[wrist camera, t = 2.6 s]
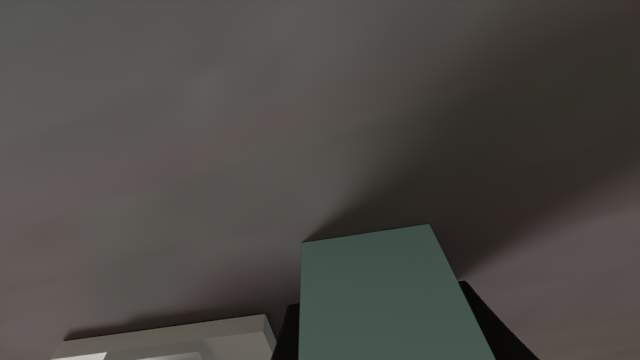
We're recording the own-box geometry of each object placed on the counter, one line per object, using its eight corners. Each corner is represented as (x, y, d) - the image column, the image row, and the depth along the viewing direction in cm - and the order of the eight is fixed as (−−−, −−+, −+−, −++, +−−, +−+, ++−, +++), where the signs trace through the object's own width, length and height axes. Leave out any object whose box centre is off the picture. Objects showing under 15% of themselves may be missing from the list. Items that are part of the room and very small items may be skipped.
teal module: (429, 223, 11) (541, 454, 6) (429, 299, 14) (512, 522, 8) (301, 243, 12) (294, 480, 6) (320, 313, 14) (328, 538, 8)
